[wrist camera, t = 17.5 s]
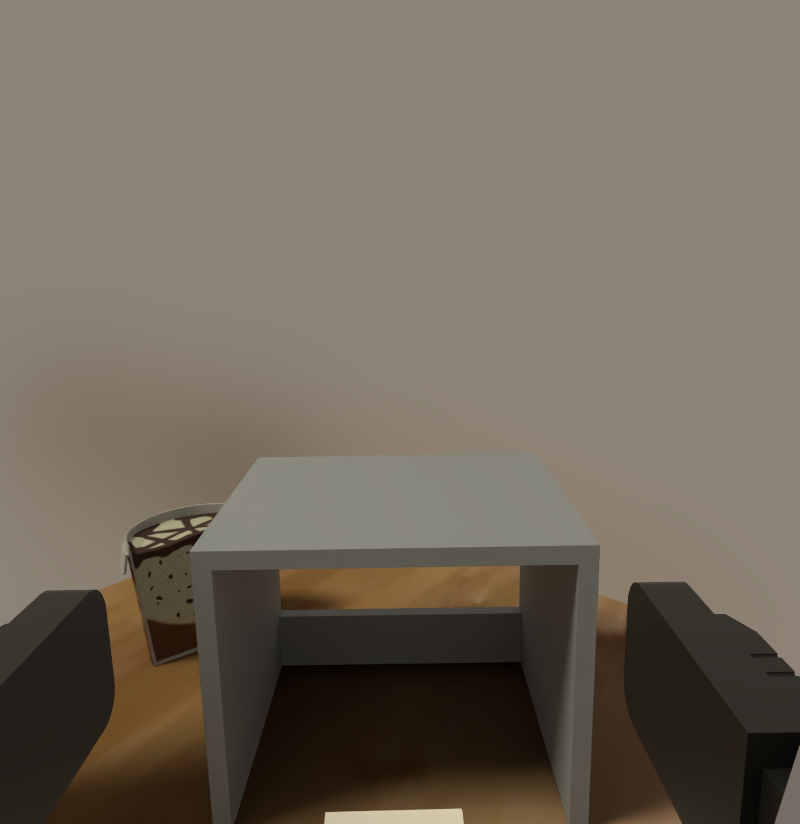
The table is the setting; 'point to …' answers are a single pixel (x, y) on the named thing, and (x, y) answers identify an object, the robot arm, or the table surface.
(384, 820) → the cream block
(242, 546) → the open box frame
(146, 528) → the food container
